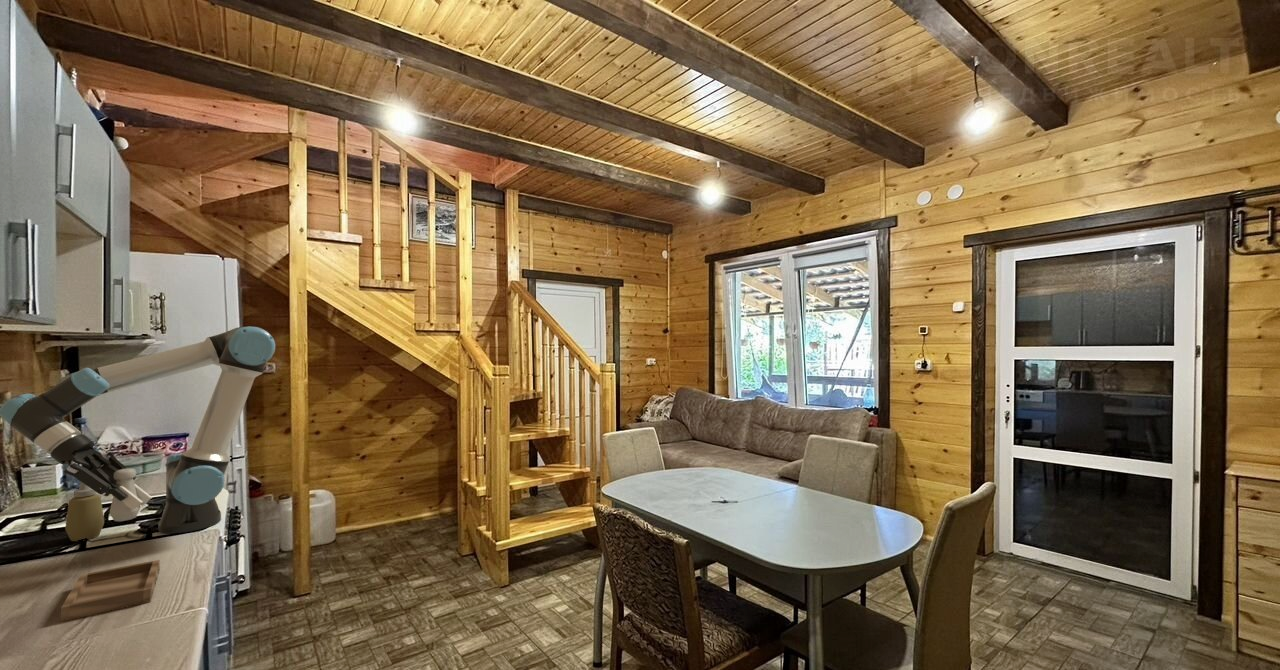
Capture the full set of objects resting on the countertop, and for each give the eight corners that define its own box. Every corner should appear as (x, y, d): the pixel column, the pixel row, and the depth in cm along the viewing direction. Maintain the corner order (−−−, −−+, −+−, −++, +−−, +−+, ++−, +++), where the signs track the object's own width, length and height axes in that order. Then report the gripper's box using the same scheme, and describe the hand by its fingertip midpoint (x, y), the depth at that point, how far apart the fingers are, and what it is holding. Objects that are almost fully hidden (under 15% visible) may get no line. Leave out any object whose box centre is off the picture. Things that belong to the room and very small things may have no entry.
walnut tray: (81, 586, 128) (81, 574, 128) (159, 571, 137) (159, 559, 137) (61, 621, 113) (61, 607, 113) (150, 601, 121) (150, 588, 121)
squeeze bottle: (92, 541, 155) (92, 479, 155) (57, 544, 152) (57, 481, 152) (111, 531, 163) (111, 472, 162) (77, 534, 160) (77, 474, 160)
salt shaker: (120, 523, 137) (120, 473, 137) (103, 521, 138) (103, 471, 138) (146, 515, 143) (145, 467, 143) (129, 513, 144) (128, 465, 144)
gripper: (79, 447, 145) (151, 504, 149) (25, 462, 129) (107, 525, 133) (102, 427, 146) (173, 484, 150) (51, 439, 130) (132, 502, 134)
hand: (142, 503), depth 141 cm, fingers closed on salt shaker, 3 cm apart
